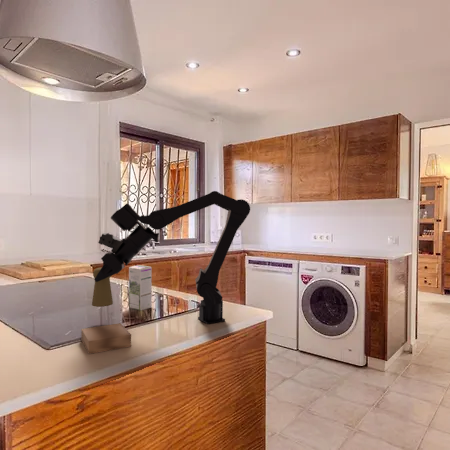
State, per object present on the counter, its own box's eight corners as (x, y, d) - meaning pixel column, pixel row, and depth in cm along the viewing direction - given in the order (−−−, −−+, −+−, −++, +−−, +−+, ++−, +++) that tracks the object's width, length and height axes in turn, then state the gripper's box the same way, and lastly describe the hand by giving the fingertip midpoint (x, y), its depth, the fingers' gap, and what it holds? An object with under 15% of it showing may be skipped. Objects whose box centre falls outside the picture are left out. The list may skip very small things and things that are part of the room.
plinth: (120, 334, 97) (120, 323, 97) (131, 346, 88) (131, 334, 88) (81, 340, 92) (81, 328, 92) (88, 353, 83) (88, 341, 83)
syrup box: (152, 307, 124) (152, 266, 124) (139, 311, 119) (140, 268, 119) (140, 304, 127) (140, 264, 127) (128, 308, 122) (128, 266, 122)
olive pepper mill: (106, 307, 103) (106, 269, 103) (87, 306, 104) (87, 268, 104) (116, 302, 109) (116, 266, 109) (98, 300, 110) (98, 265, 110)
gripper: (121, 222, 115) (86, 256, 115) (108, 224, 97) (67, 265, 96) (145, 246, 117) (111, 280, 116) (138, 253, 98) (97, 293, 97)
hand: (97, 279), depth 106 cm, fingers closed on olive pepper mill, 5 cm apart
